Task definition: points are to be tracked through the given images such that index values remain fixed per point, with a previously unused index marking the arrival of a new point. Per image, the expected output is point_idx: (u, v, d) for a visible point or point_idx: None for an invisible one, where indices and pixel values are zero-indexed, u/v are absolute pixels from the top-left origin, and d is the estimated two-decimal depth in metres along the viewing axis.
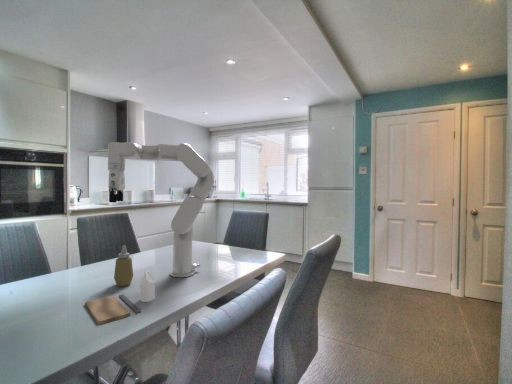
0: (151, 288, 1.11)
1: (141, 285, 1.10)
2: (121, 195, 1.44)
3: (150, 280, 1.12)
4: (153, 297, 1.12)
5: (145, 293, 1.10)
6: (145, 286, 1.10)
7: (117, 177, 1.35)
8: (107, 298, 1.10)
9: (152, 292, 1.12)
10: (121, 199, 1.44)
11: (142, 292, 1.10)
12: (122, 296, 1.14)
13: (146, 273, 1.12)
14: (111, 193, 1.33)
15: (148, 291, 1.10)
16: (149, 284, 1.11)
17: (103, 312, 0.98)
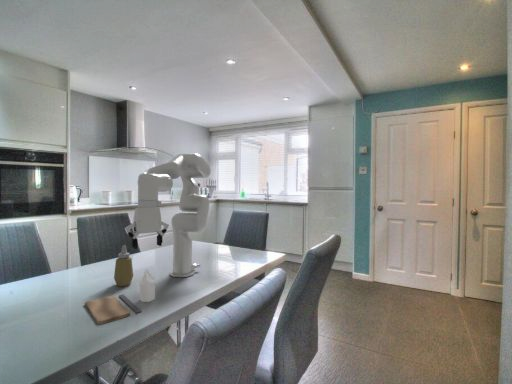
0: (151, 288, 1.11)
1: (141, 285, 1.10)
2: None
3: (150, 280, 1.12)
4: (153, 297, 1.12)
5: (145, 293, 1.10)
6: (145, 286, 1.10)
7: None
8: (107, 298, 1.10)
9: (152, 292, 1.12)
10: None
11: (142, 292, 1.10)
12: (122, 296, 1.14)
13: (146, 273, 1.12)
14: None
15: (148, 291, 1.10)
16: (149, 284, 1.11)
17: (103, 312, 0.98)
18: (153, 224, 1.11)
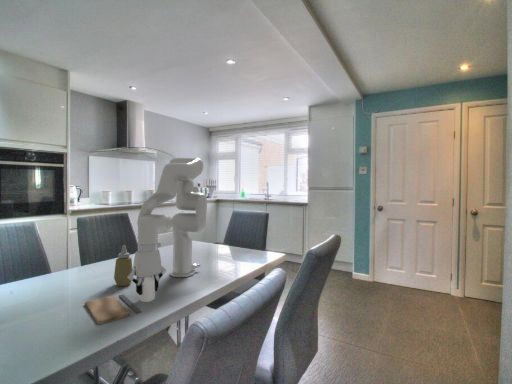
0: (151, 288, 1.11)
1: None
2: None
3: (150, 280, 1.11)
4: (153, 297, 1.12)
5: (145, 293, 1.10)
6: (145, 286, 1.10)
7: None
8: (107, 298, 1.10)
9: (152, 292, 1.12)
10: None
11: (142, 292, 1.10)
12: (122, 296, 1.14)
13: None
14: None
15: (148, 291, 1.10)
16: (149, 284, 1.11)
17: (103, 312, 0.98)
18: (153, 267, 1.12)
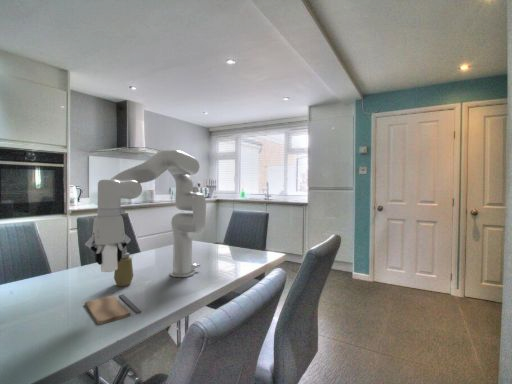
0: (113, 258, 1.01)
1: (101, 253, 1.00)
2: None
3: (111, 248, 1.01)
4: (115, 267, 1.02)
5: (106, 263, 1.00)
6: (105, 254, 1.00)
7: None
8: (107, 298, 1.10)
9: (114, 262, 1.02)
10: None
11: (102, 261, 1.00)
12: (122, 296, 1.14)
13: None
14: None
15: (109, 260, 1.00)
16: (110, 252, 1.00)
17: (103, 312, 0.98)
18: (115, 235, 1.02)
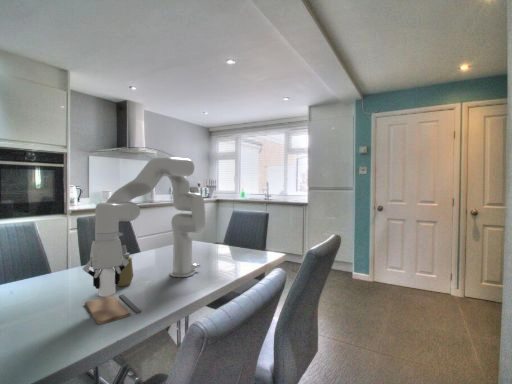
0: (110, 281, 1.01)
1: (99, 277, 1.00)
2: None
3: (109, 272, 1.01)
4: (113, 291, 1.02)
5: (103, 287, 1.00)
6: (102, 278, 0.99)
7: None
8: (107, 298, 1.10)
9: (111, 286, 1.01)
10: None
11: (99, 285, 1.00)
12: (122, 296, 1.14)
13: None
14: None
15: (107, 284, 1.00)
16: (108, 276, 1.00)
17: (103, 312, 0.98)
18: (112, 259, 1.01)
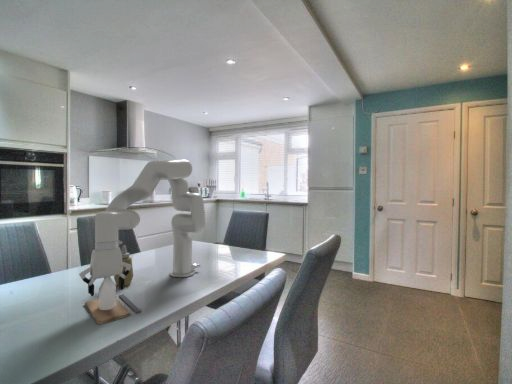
0: (111, 295, 1.01)
1: (100, 291, 1.00)
2: None
3: (110, 286, 1.02)
4: (113, 305, 1.02)
5: (104, 301, 1.00)
6: (103, 292, 1.00)
7: None
8: None
9: (112, 299, 1.02)
10: None
11: (100, 299, 1.00)
12: (122, 296, 1.14)
13: (105, 278, 1.02)
14: None
15: (107, 298, 1.00)
16: (108, 290, 1.01)
17: (103, 312, 0.98)
18: (112, 267, 1.02)
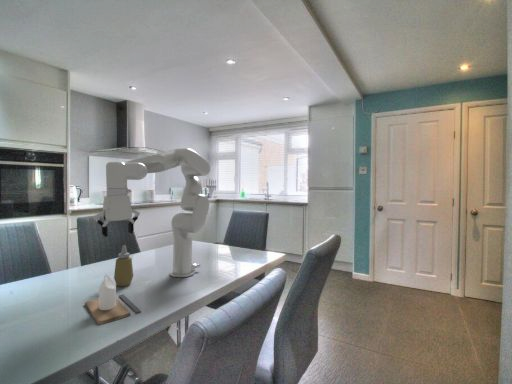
0: (111, 295, 1.01)
1: (100, 291, 1.00)
2: None
3: (110, 286, 1.02)
4: (113, 305, 1.02)
5: (104, 301, 1.00)
6: (103, 292, 1.00)
7: None
8: None
9: (112, 299, 1.02)
10: None
11: (100, 299, 1.00)
12: (122, 296, 1.14)
13: (105, 278, 1.02)
14: None
15: (107, 298, 1.00)
16: (109, 290, 1.01)
17: (103, 312, 0.98)
18: (123, 212, 1.13)
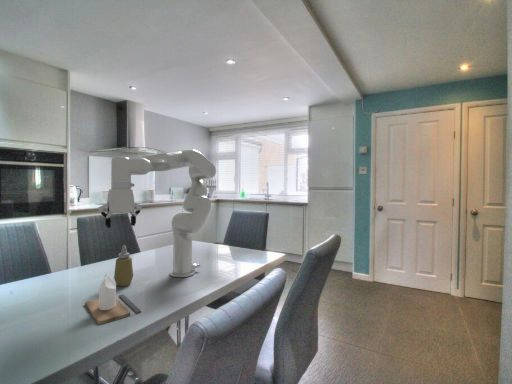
0: (111, 295, 1.01)
1: (100, 291, 1.00)
2: None
3: (110, 286, 1.02)
4: (113, 305, 1.02)
5: (104, 301, 1.00)
6: (103, 292, 1.00)
7: None
8: None
9: (112, 299, 1.02)
10: None
11: (100, 299, 1.00)
12: (122, 296, 1.14)
13: (105, 278, 1.02)
14: None
15: (107, 298, 1.00)
16: (109, 290, 1.01)
17: (103, 312, 0.98)
18: (126, 205, 1.17)
